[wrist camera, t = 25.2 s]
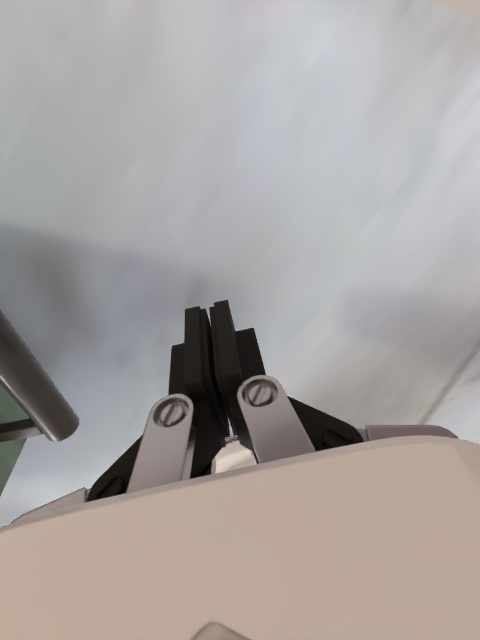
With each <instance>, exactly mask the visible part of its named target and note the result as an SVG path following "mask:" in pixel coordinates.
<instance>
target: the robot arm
mask: <svg viewBox="0 0 480 640" xmlns="http://www.w3.org/2000/svg"><path fill="white" fill-rule="evenodd" d="M209 310H210V321H211V325H210V322H209V318H208V315H207V311H206V309H200V307H199V306H197V307H193V308H188V309H185V339H184V343H182V344H178V345H173V346H172V351H171V365H170V380H169V394H168V396H166V397H164V398H162V399H160V400H159V401H158V402H156V404H155V405H154V406H153V407H152V409H151V411H150V413H149V416H148V419H147V422H146V426H145V429H144V433H143V435H142V436H141V437H140V438H139V439H138V440H137V441H136V442H135V443H134V444H133V445H132V446H131V447H130V448H129V449H128V450H127V451H126V452H125V453H124V454H123V455H122V456H121V457H120V458H119V459H118V460H117V461H116V462H115V463H114V464H113V465H112V466H111V467H110V468H109V469H108V470H107V471H106V472H105V473H104V474H103V475H101V476H100V477H99V479H98V480H97V481H96V482H95V483H94V485H93V486H92V488H90V489H88V490H87V489H86V488H85V487H84V488H82V489H79V490H77V491H75V492H73V493H70V494H68V495H66V496H63V497H61V498H59V499H57V500H54V501H52V502H50V503H48V504H45V505H43V506H41V507H39V508H36V509H34V510H32V511H30V512H27V513H25V514H23V515H21V516H20V517H18V518H16V519H15V520H14V521H13V522H12V523H11V524H9V525H7V526H4V527H2V528H0V640H480V444H477V443H474V442H470V441H466V440H462V439H459V438H458V437H457V436H456V435H455V434H453V433H452V432H451V431H449V430H447V429H445V428H443V427H440V426H434V425H366V429H355V428H354V427H353V426H351V425H350V424H348V423H346V422H344V421H341V420H339V419H337V418H335V417H332V416H330V415H328V414H326V413H324V412H321V411H319V410H317V409H315V408H313V407H310V406H308V405H306V404H304V403H302V402H299V401H297V400H295V399H293V398H290V397H288V396H287V395H286V393H285V391H284V389H283V387H282V385H281V384H280V383H279V381H278V380H276V379H275V378H273V377H271V376H267V375H266V373H265V369H264V366H263V362H262V358H261V354H260V350H259V346H258V343H257V339H256V335H255V331H254V328H250V329H245V330H241V331H236V332H235V328H234V324H233V320H232V316H231V312H230V308H229V303H228V300H224V301H220V302H215V303H214V307H210V308H209ZM228 418H229V421H230V424H231V427H232V430H233V433H234V435H237V436H238V439H239V440H236V441H233V442H231V443H229V444H225V437H229V436H230V431H229V422H228Z"/></svg>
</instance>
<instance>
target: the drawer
mask: <svg viewBox="0 0 480 640" xmlns="http://www.w3.org/2000/svg"><path fill="white" fill-rule="evenodd" d="M78 425H79V418H78V417H77V415H76V414H75V412H74V411H73V410H72V408H71V407H70V405H69V404H68V403H67V401H66V400H65V399H64V397H63V396H62V394H61V393H60V392H59V390H58V389H57V388H56V386H55V385H54V383H53V382H52V381H51V379H50V378H49V376H48V375H47V374H46V372H45V371H44V370H43V368H42V367H41V365H40V364H39V363H38V361H37V360H36V359H35V357H34V356H33V354H32V353H31V352H30V350H29V349H28V347H27V346H26V345H25V343H24V342H23V341H22V339H21V338H20V336H19V335H18V334H17V332H16V331H15V330H14V328H13V327H12V325H11V324H10V323H9V321H8V320H7V318H6V317H5V316H4V314H3V313H2V312H1V310H0V496H1V494H2V492H3V489H4V487H5V485H6V483H7V481H8V478H9V476H10V474H11V472H12V470H13V467H14V465H15V463H16V461H17V459H18V457H19V454H20V452H21V450H22V448H23V446H24V443H25V441H26V439H27V437H30V436H35V435H40V434H44V435H45V436H46V437H47V438H48V439H49V440H50V441H53V442H58V441H62V440H64V439H66V438H68V437H69V436H71V435H72V434H73V433H74V432H75V431H76V429H77V427H78Z"/></svg>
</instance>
